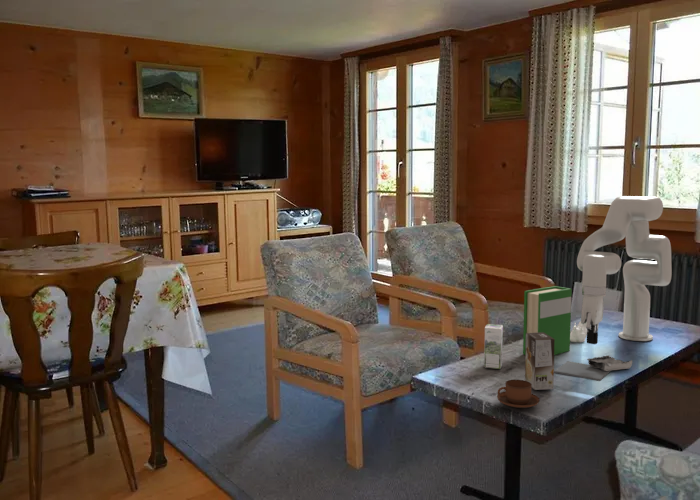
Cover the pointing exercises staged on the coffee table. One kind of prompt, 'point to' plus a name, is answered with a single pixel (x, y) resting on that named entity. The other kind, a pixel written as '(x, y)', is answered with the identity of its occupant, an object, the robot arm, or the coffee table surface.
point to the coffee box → (539, 360)
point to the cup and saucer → (518, 394)
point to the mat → (581, 371)
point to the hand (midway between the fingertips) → (592, 343)
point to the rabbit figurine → (578, 332)
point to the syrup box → (493, 346)
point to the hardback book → (549, 315)
